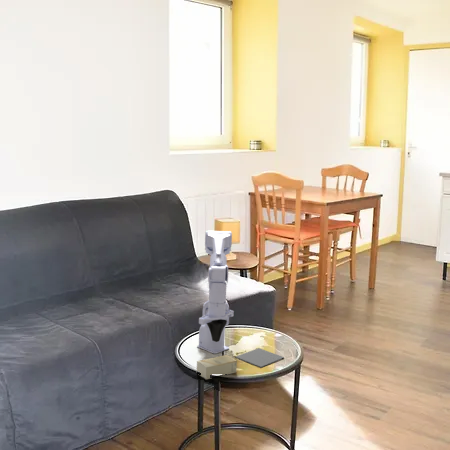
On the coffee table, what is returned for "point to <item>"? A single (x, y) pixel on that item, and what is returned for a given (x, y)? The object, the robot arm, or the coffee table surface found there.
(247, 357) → the mat
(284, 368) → the coffee table surface
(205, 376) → the skincare box
